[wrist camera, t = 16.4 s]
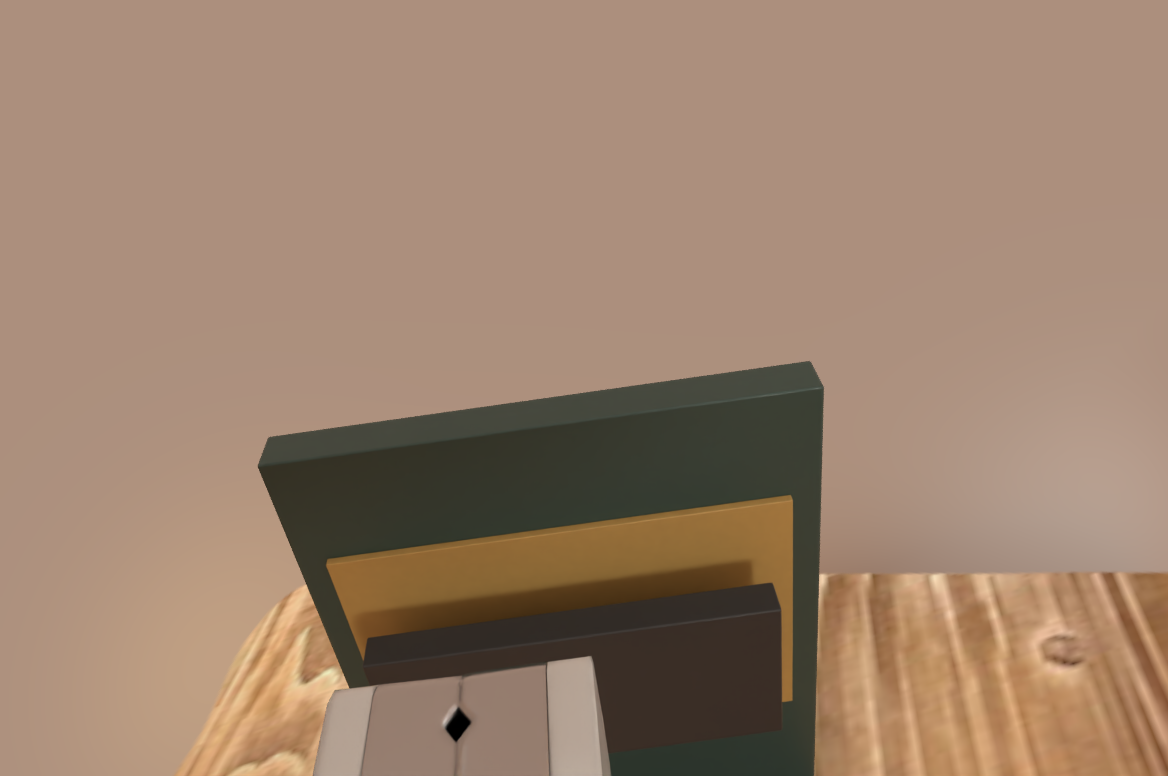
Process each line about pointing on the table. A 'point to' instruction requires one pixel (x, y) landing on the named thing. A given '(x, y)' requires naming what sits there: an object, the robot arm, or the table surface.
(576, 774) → the robot arm
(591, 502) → the switch stand
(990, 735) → the table surface
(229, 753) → the table surface
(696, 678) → the switch button
